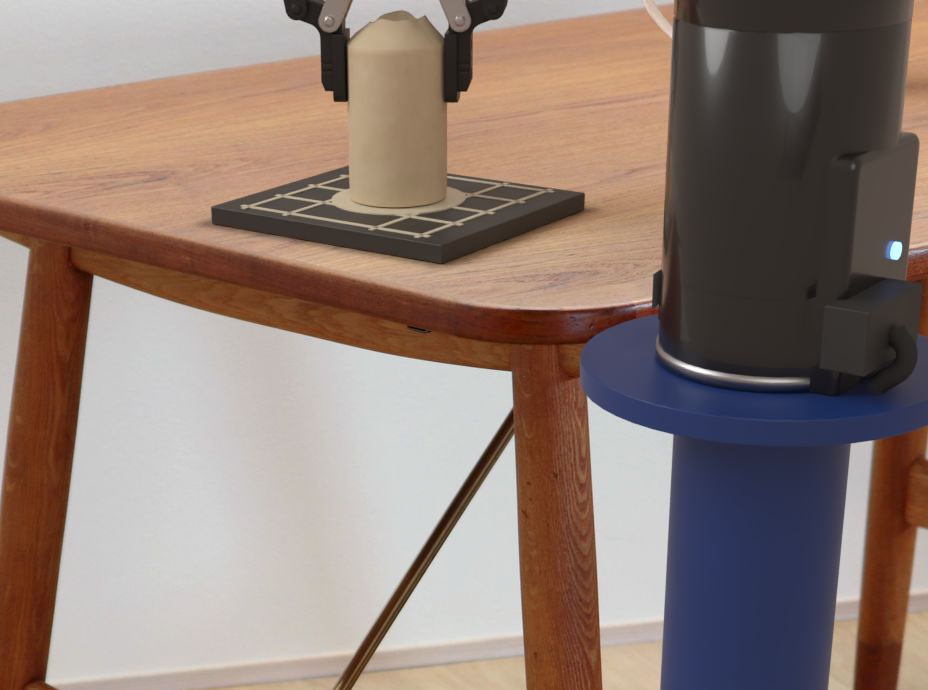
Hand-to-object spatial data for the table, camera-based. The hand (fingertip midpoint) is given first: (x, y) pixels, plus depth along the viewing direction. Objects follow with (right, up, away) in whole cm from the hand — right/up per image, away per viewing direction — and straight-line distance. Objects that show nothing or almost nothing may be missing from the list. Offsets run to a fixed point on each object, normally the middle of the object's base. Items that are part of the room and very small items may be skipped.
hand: (397, 98), depth 106 cm
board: (0, -6, +3) cm, 7 cm away
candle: (0, -5, +2) cm, 6 cm away
